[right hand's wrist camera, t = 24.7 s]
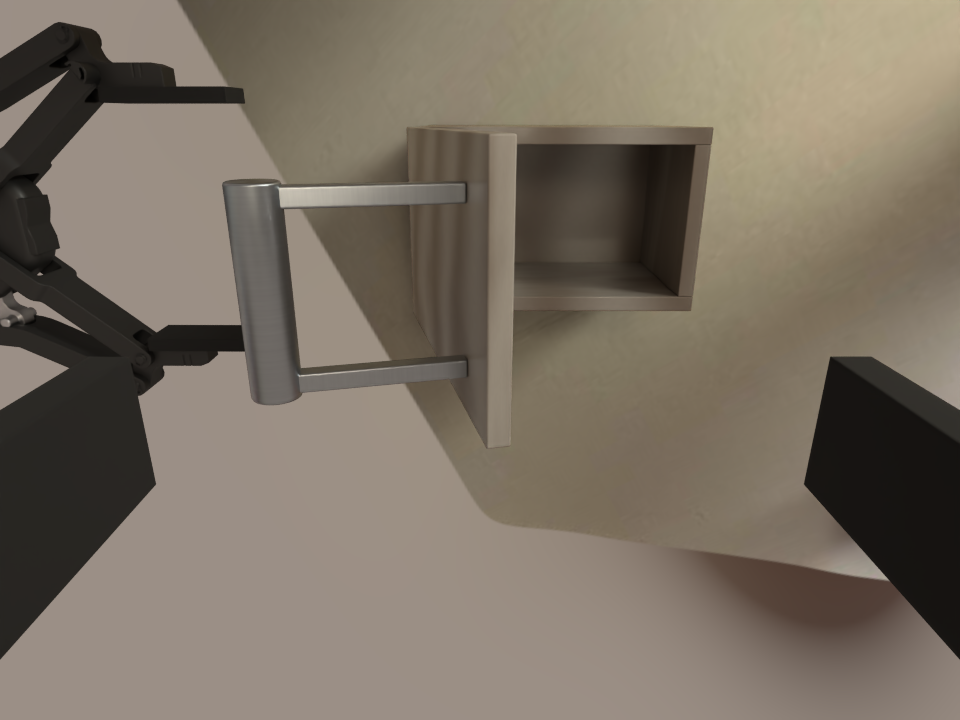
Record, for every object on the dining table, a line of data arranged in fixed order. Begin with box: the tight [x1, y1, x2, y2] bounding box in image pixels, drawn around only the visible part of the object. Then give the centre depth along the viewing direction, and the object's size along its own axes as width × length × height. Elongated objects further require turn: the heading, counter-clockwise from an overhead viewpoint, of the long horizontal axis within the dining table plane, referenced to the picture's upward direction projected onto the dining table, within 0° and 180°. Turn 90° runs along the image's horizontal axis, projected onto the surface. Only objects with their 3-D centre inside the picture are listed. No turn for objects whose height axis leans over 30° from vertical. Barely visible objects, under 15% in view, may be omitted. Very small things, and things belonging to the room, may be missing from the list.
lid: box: [222, 127, 517, 449], centre depth 27 cm, size 17×10×8 cm
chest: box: [420, 125, 713, 311], centre depth 41 cm, size 16×10×10 cm, turn 90°
